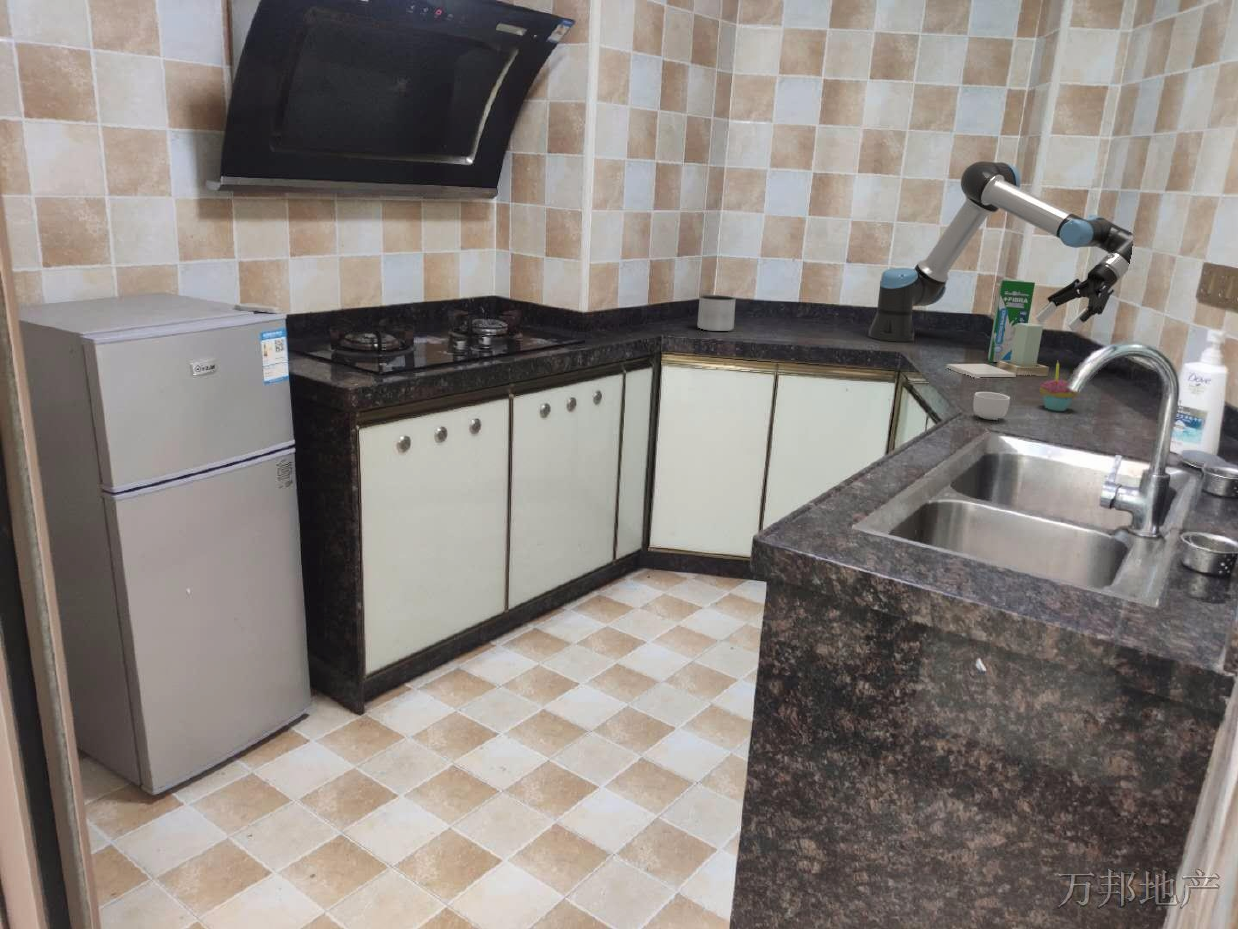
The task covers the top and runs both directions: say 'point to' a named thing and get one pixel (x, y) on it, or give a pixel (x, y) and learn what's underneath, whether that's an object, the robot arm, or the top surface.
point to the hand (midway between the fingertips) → (1054, 324)
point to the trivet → (980, 370)
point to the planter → (716, 313)
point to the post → (1026, 344)
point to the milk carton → (1009, 317)
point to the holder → (1023, 369)
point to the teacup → (990, 404)
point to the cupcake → (1056, 393)
